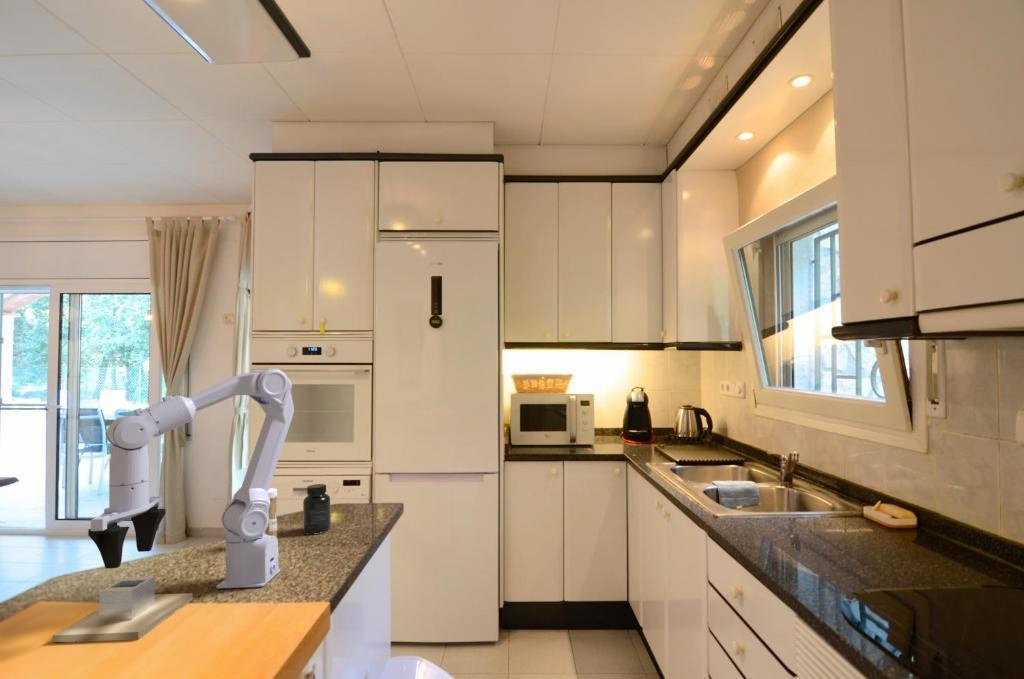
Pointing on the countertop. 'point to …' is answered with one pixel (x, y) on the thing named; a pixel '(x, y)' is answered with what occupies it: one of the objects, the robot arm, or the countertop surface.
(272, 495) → the sprinkles bottle
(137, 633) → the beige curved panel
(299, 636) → the countertop surface
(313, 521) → the supplement bottle
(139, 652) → the countertop surface
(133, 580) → the hollow square tube
